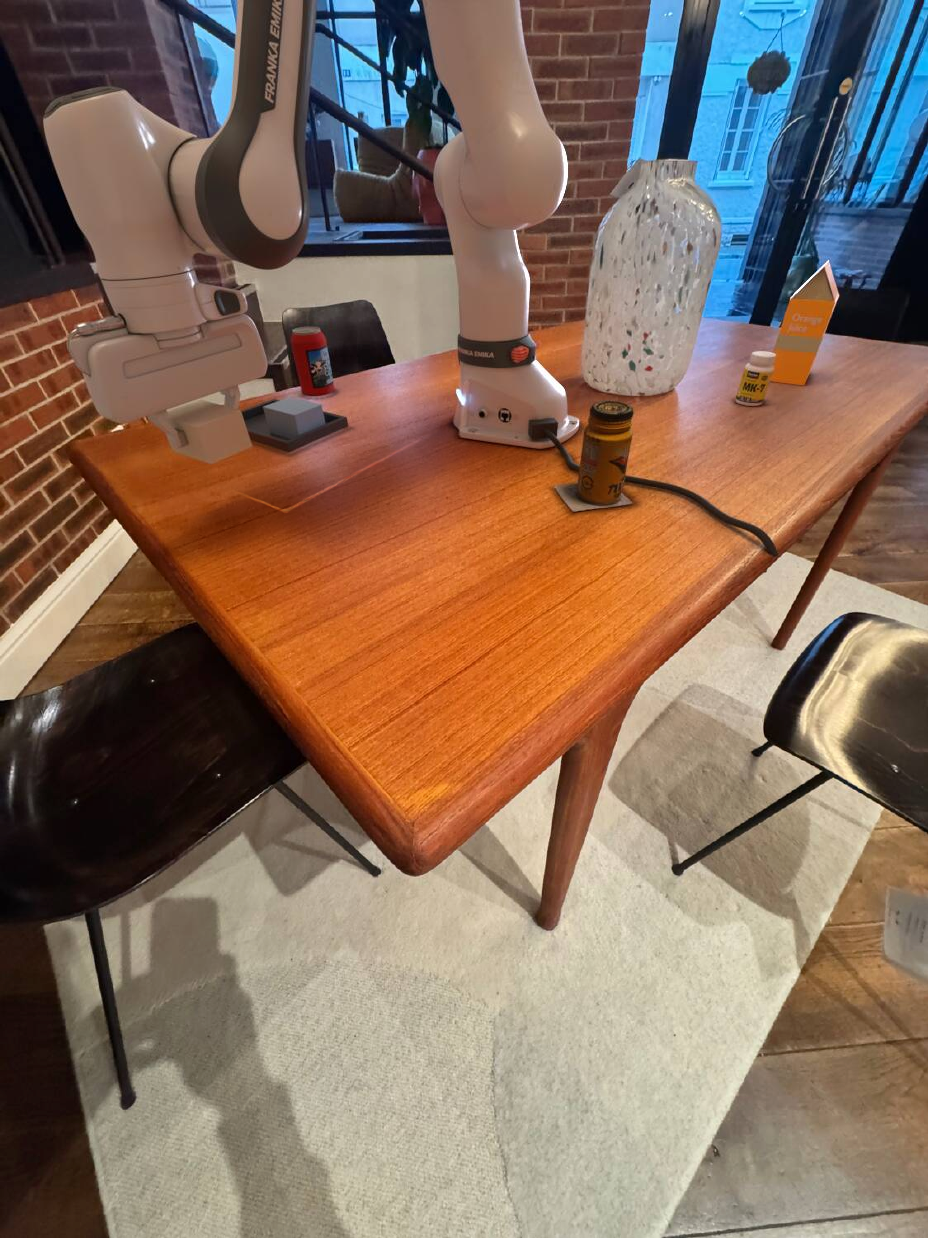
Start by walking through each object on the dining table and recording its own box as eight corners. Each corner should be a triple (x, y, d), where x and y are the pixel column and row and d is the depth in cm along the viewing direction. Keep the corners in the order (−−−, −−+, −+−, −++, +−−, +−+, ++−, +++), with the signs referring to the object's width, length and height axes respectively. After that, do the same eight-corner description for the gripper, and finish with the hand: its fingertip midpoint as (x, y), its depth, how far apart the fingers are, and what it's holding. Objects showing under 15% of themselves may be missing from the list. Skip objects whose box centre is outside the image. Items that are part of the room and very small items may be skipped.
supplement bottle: (734, 404, 97) (749, 355, 92) (734, 397, 101) (749, 349, 95) (762, 407, 96) (779, 357, 90) (762, 399, 99) (778, 351, 94)
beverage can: (327, 399, 106) (315, 333, 98) (297, 398, 107) (282, 333, 99) (340, 389, 111) (329, 325, 103) (310, 387, 112) (297, 325, 104)
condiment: (632, 504, 70) (651, 413, 62) (572, 512, 68) (583, 420, 61) (609, 480, 75) (623, 394, 67) (553, 488, 74) (561, 400, 66)
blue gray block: (326, 430, 91) (321, 404, 88) (300, 442, 88) (294, 414, 85) (296, 422, 95) (290, 396, 92) (269, 432, 91) (262, 406, 88)
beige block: (252, 446, 65) (241, 409, 62) (211, 464, 61) (196, 426, 58) (213, 434, 69) (201, 399, 66) (172, 451, 65) (157, 414, 62)
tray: (349, 428, 93) (347, 416, 92) (289, 455, 85) (286, 442, 84) (277, 409, 102) (274, 398, 101) (217, 432, 94) (213, 420, 93)
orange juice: (809, 374, 110) (853, 259, 97) (804, 385, 105) (850, 266, 92) (769, 369, 114) (806, 258, 101) (762, 380, 108) (800, 264, 95)
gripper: (73, 330, 47) (141, 473, 56) (256, 291, 60) (288, 413, 69) (42, 324, 50) (111, 461, 59) (223, 287, 62) (257, 405, 72)
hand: (207, 435), depth 64 cm, fingers closed on beige block, 6 cm apart
